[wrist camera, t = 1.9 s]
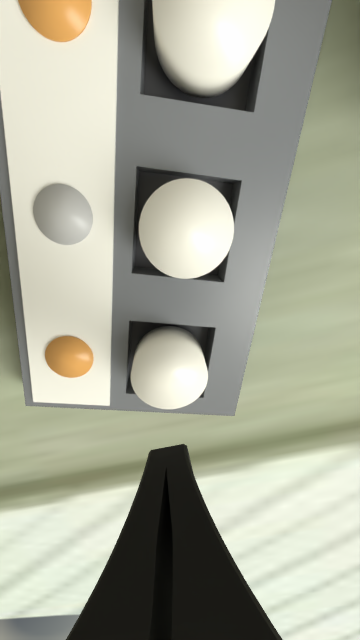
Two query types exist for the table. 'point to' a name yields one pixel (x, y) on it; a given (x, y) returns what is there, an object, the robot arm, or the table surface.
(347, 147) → the table surface
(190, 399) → the button
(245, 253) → the button board
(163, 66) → the button
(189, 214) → the button
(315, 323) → the table surface
